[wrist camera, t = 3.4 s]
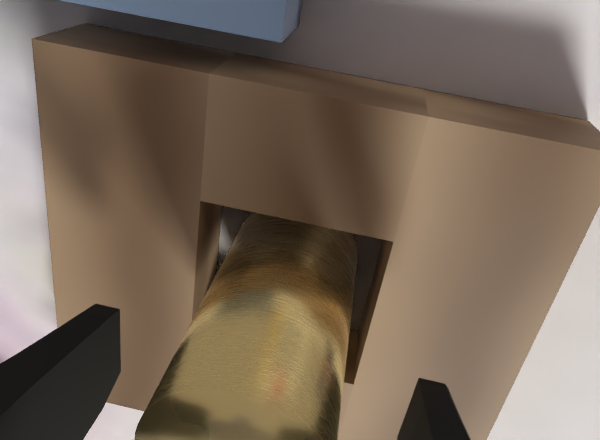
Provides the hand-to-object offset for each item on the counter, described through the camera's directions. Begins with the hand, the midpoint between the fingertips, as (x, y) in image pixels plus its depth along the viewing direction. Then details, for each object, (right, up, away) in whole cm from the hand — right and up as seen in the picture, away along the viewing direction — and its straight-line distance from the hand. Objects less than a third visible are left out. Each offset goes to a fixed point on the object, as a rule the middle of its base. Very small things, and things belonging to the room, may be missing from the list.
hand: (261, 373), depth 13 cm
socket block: (+1, +3, +5) cm, 6 cm away
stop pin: (+1, +3, +5) cm, 6 cm away
